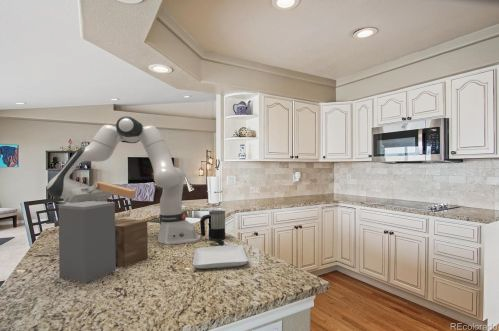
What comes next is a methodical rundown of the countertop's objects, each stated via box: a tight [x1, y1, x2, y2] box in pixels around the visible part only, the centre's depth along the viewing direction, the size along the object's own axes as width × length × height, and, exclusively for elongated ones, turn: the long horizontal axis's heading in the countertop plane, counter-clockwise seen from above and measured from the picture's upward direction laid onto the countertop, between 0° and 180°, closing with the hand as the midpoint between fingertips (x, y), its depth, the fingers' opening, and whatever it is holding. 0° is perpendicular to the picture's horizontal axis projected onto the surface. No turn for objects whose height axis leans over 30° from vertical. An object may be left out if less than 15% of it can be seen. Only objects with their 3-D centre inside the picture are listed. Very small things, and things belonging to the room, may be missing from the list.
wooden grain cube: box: [115, 218, 149, 268], centre depth 113 cm, size 14×12×16 cm
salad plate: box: [192, 244, 249, 270], centre depth 111 cm, size 21×21×3 cm
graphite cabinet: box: [58, 201, 117, 284], centre depth 99 cm, size 14×12×26 cm
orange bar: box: [93, 181, 137, 199], centre depth 115 cm, size 22×3×3 cm, turn 66°
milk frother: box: [199, 209, 226, 245], centre depth 140 cm, size 14×16×15 cm
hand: (102, 184), depth 119 cm, fingers closed on orange bar, 3 cm apart
